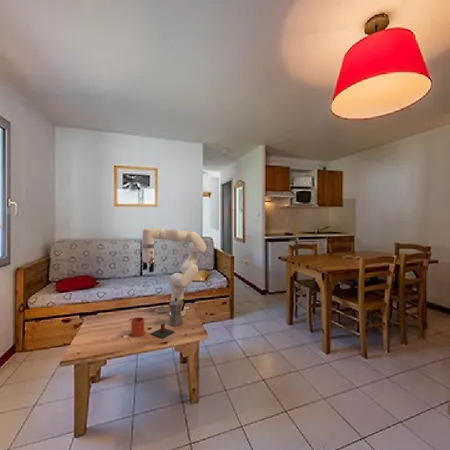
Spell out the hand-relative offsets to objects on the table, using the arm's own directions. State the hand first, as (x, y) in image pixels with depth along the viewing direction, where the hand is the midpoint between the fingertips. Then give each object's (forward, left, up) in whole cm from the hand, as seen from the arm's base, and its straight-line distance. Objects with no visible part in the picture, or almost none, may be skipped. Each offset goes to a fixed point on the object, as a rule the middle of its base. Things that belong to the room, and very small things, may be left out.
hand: (148, 270), depth 170 cm
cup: (+12, +11, -37) cm, 40 cm away
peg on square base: (0, +21, -37) cm, 42 cm away
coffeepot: (-15, +14, -37) cm, 42 cm away
